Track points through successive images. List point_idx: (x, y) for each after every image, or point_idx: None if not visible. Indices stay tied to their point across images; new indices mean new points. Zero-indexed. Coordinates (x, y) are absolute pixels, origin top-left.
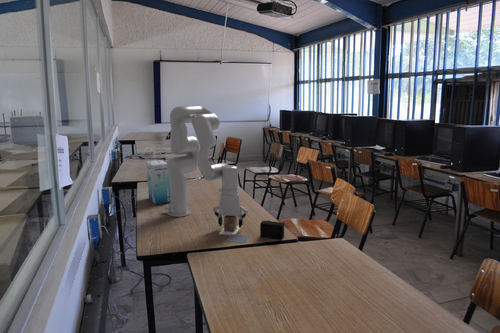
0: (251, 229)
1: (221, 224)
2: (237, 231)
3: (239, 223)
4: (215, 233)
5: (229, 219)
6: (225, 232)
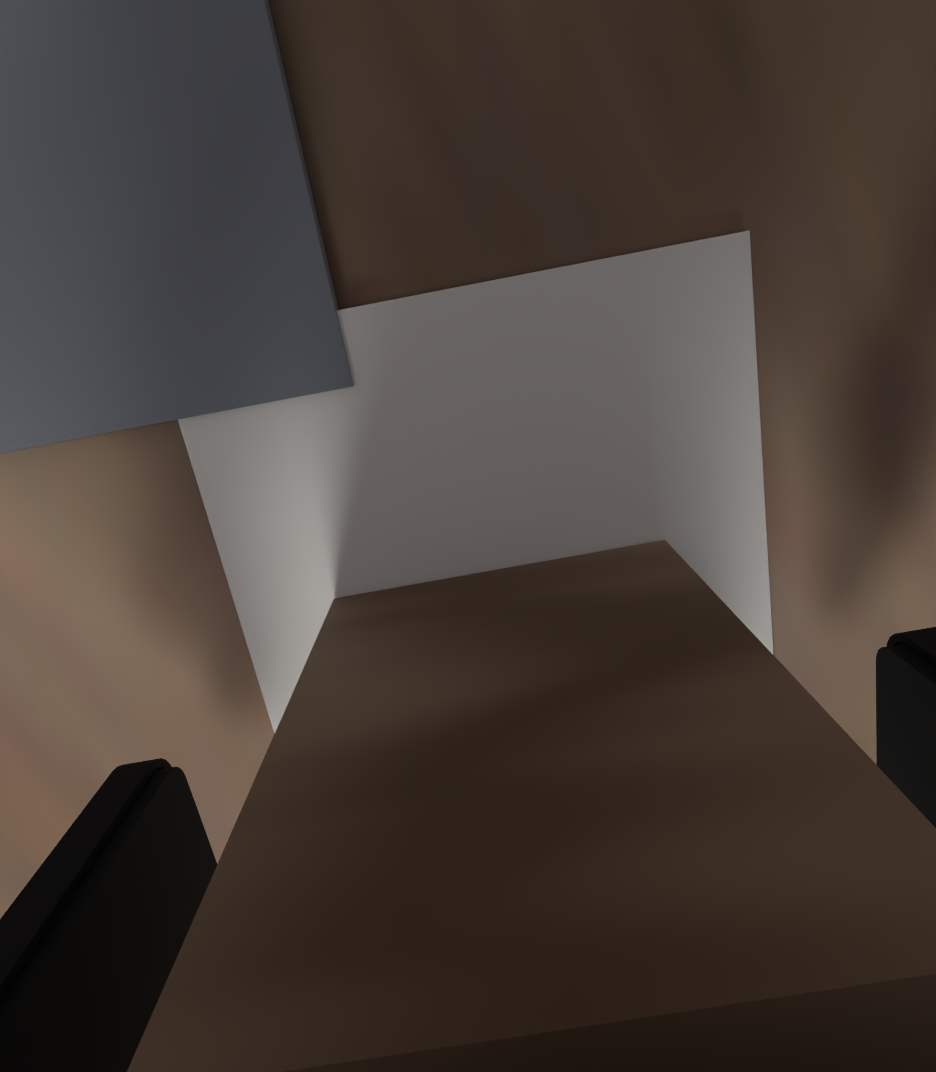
0: None
1: (895, 753)
2: (266, 668)
3: (59, 878)
4: (887, 284)
5: (519, 887)
6: (581, 458)
